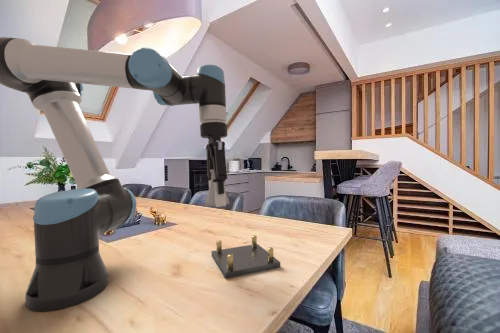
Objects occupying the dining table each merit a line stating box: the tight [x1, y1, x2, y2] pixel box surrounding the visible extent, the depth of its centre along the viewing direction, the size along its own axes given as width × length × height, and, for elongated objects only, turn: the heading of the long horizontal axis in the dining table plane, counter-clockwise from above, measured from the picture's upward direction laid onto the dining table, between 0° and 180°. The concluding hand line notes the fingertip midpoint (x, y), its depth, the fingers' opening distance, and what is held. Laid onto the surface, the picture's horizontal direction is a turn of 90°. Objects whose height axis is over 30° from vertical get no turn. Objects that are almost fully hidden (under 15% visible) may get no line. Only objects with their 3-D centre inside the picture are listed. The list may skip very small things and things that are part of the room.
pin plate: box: [211, 235, 281, 280], centre depth 69 cm, size 16×16×5 cm
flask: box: [204, 170, 230, 207], centre depth 65 cm, size 7×7×10 cm
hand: (217, 203), depth 65 cm, fingers closed on flask, 7 cm apart
